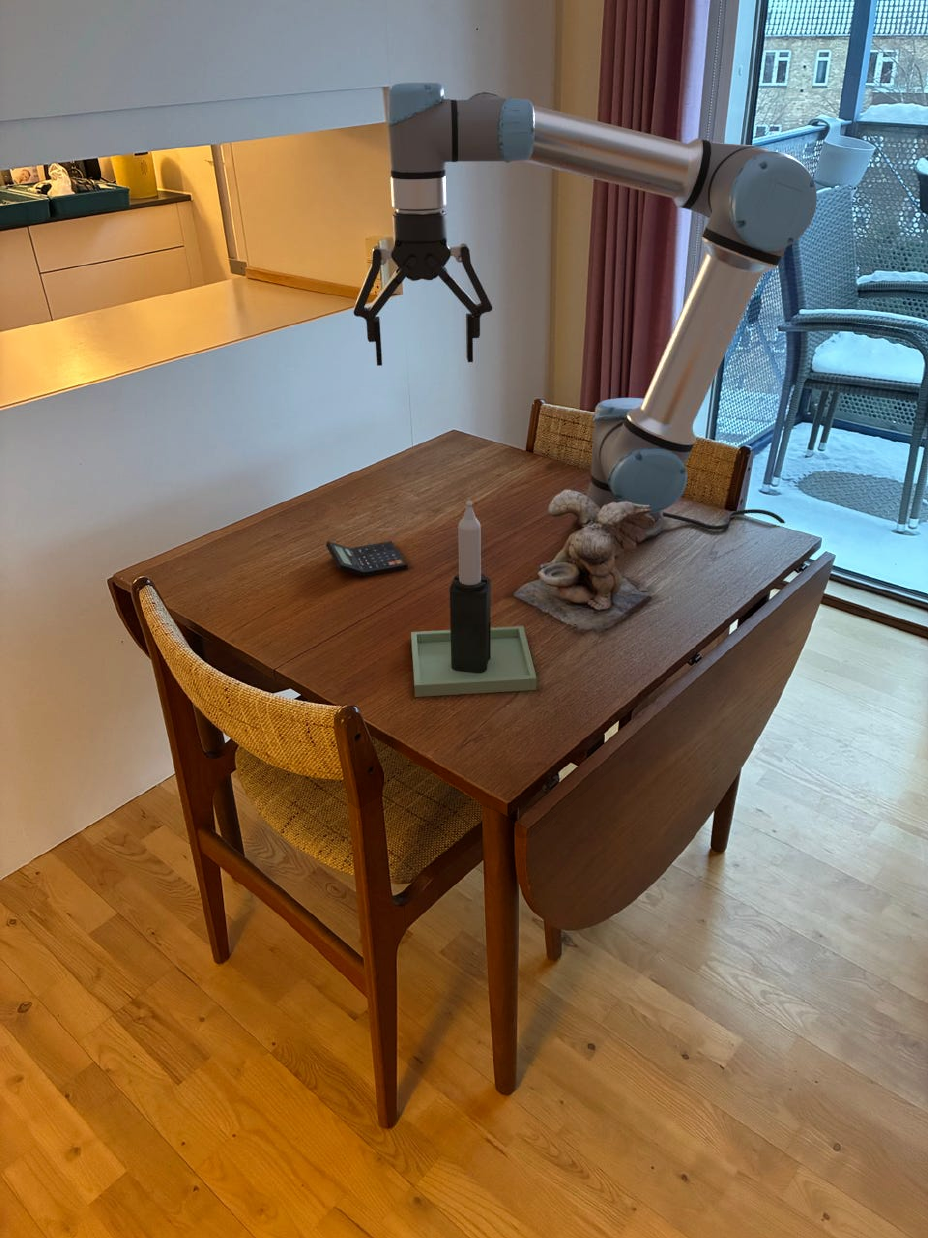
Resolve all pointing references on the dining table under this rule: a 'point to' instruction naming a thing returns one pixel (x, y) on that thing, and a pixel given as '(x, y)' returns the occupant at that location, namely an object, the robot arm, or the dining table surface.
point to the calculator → (367, 558)
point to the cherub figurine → (591, 564)
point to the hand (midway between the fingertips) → (424, 361)
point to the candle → (470, 602)
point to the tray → (438, 678)
